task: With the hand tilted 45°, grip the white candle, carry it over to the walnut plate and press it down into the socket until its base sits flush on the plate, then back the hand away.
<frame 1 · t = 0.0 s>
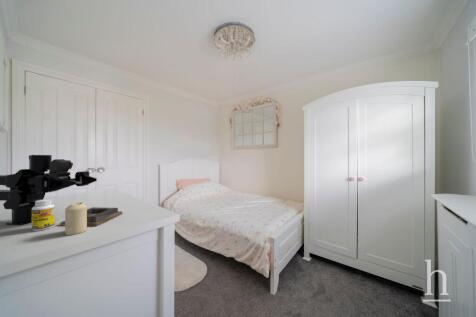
hand: (86, 181, 69), 17 cm above the table, tool horizontal, fingers open, 9 cm apart
supplement bottle: (43, 228, 63), on the table
socket: (94, 219, 73), on the table
candle: (76, 232, 61), on the table
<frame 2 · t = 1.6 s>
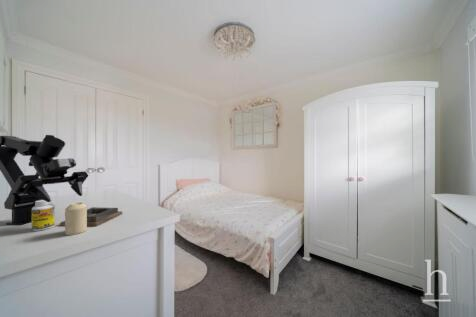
hand: (66, 198, 62), 11 cm above the table, tool tilted 45°, fingers open, 9 cm apart
nothing on the table moved.
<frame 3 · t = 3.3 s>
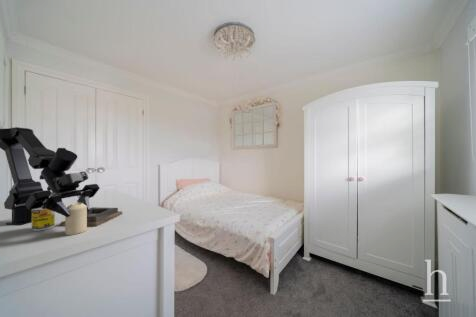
hand: (79, 213, 60), 7 cm above the table, tool tilted 45°, fingers closed on candle, 5 cm apart
candle: (76, 232, 61), on the table, touching gripper
everything else where it was.
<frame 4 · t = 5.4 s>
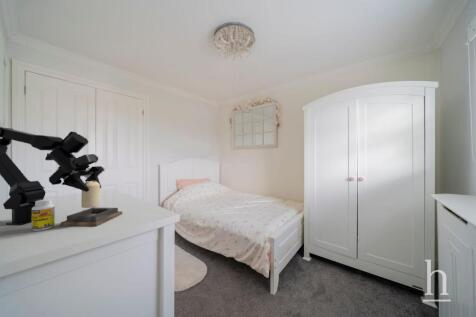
hand: (94, 189, 69), 13 cm above the table, tool tilted 45°, fingers closed on candle, 5 cm apart
candle: (90, 206, 69), point 6 cm above the table, touching gripper
everything else where it was.
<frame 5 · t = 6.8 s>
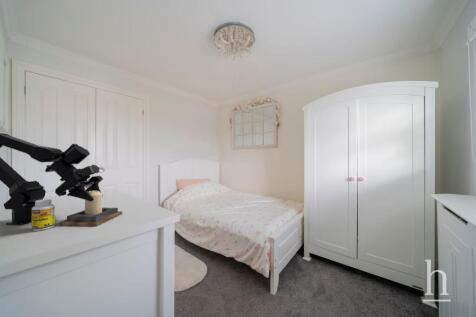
hand: (97, 198, 73), 9 cm above the table, tool tilted 45°, fingers closed on candle, 5 cm apart
candle: (93, 215, 73), point 2 cm above the table, touching gripper
everything else where it was.
when the fingers open (8 cm above the table, at t = 7.5 s): candle stays where it is, resting on socket.
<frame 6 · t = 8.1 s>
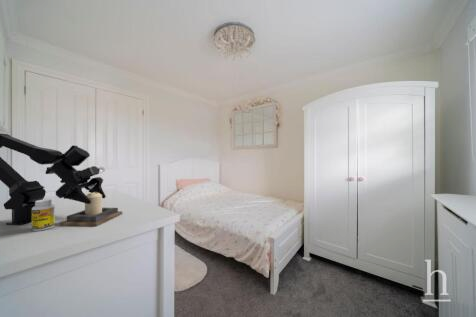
hand: (97, 200, 73), 8 cm above the table, tool tilted 45°, fingers open, 9 cm apart
candle: (93, 216, 73), point 1 cm above the table, touching socket
everything else where it was.
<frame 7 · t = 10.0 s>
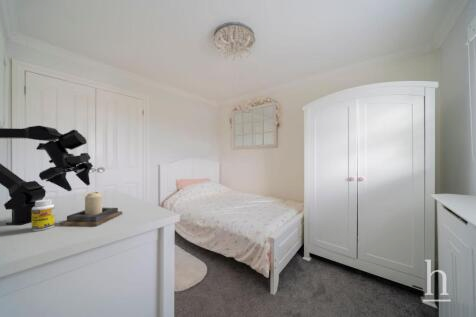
hand: (80, 187, 74), 13 cm above the table, tool tilted 30°, fingers open, 9 cm apart
nothing on the table moved.
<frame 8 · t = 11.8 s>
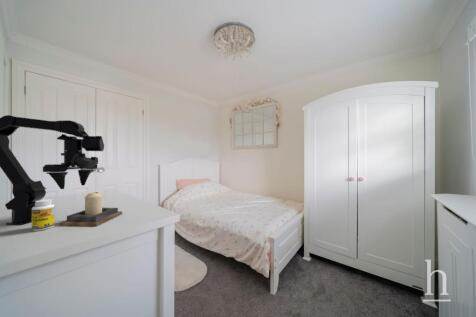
hand: (73, 187, 75), 13 cm above the table, tool pointing down, fingers open, 9 cm apart
nothing on the table moved.
at the end: candle 0.2 cm off-centre on the socket, point 1.0 cm above the socket's base; candle tilted 0°; the gripper is holding nothing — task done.
